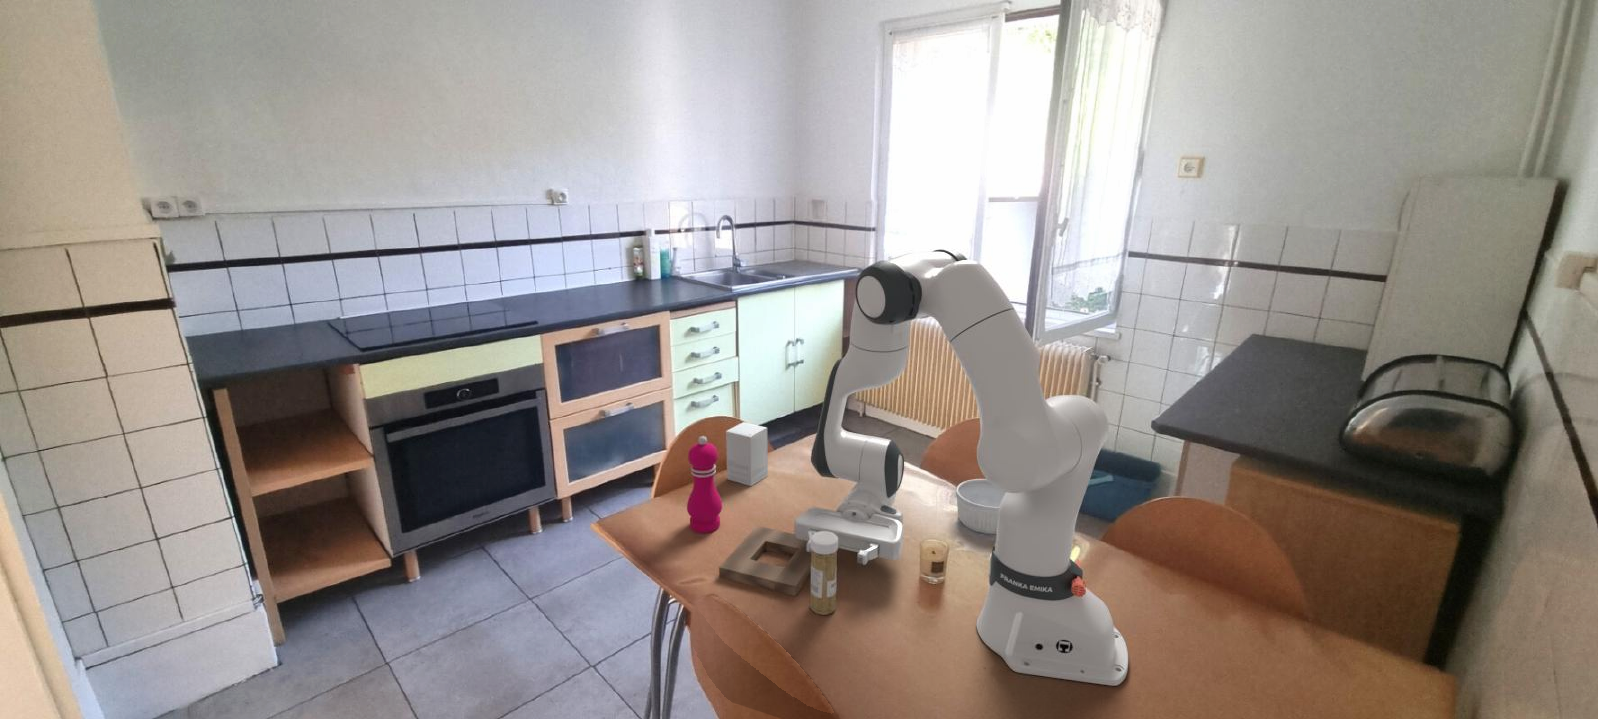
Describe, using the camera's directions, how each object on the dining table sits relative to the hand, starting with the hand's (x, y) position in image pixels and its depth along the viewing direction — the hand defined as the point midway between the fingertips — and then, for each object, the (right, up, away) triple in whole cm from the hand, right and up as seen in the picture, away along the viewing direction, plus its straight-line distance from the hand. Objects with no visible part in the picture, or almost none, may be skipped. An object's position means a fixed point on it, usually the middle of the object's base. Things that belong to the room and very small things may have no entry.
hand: (835, 554), depth 117 cm
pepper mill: (-26, -1, +23) cm, 34 cm away
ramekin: (+33, -1, +26) cm, 42 cm away
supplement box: (-19, +5, +45) cm, 49 cm away
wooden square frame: (-11, -4, +10) cm, 15 cm away
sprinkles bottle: (-2, -8, -3) cm, 9 cm away
